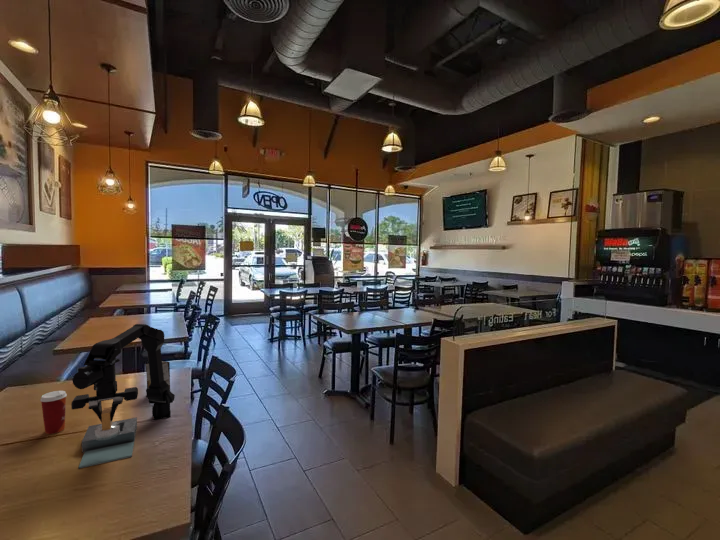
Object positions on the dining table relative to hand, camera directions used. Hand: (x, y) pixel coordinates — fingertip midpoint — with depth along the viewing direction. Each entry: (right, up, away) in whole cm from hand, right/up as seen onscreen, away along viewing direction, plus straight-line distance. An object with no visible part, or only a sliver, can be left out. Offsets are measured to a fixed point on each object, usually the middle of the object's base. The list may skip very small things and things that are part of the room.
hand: (107, 421), depth 127 cm
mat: (0, -12, +1) cm, 12 cm away
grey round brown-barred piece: (0, -5, 0) cm, 5 cm away
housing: (-6, -12, +11) cm, 18 cm away
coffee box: (-12, -9, +55) cm, 57 cm away
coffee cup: (-33, -11, +17) cm, 39 cm away
